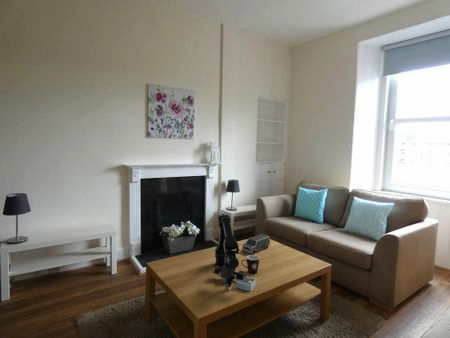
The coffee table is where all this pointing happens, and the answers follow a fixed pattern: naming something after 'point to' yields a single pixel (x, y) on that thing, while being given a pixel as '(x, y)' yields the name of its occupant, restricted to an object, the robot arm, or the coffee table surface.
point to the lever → (232, 282)
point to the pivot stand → (224, 281)
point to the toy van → (256, 243)
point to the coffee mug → (252, 263)
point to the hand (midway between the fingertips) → (229, 286)
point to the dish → (244, 285)
